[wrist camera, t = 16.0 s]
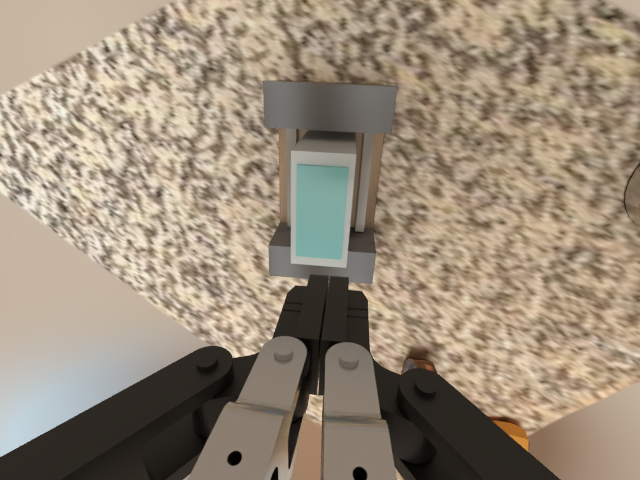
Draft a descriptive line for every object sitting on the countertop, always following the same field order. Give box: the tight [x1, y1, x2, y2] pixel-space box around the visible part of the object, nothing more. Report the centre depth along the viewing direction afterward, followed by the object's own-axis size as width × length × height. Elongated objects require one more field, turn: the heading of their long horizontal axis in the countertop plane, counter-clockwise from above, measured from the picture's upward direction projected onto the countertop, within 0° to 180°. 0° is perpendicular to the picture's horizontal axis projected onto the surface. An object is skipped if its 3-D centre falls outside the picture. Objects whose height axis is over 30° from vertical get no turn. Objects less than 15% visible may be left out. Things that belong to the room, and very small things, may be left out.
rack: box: [263, 81, 397, 284], centre depth 28 cm, size 9×16×6 cm, turn 178°
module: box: [291, 130, 356, 268], centre depth 26 cm, size 4×8×9 cm, turn 178°
